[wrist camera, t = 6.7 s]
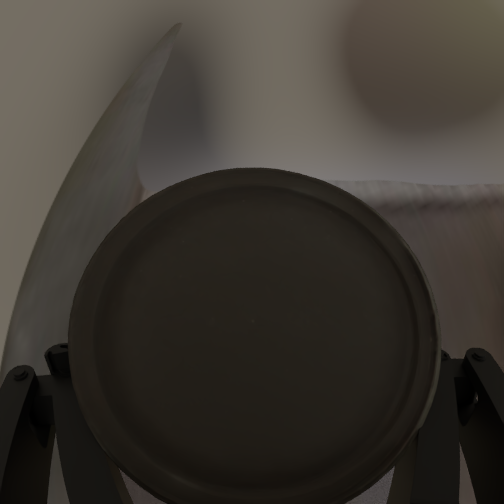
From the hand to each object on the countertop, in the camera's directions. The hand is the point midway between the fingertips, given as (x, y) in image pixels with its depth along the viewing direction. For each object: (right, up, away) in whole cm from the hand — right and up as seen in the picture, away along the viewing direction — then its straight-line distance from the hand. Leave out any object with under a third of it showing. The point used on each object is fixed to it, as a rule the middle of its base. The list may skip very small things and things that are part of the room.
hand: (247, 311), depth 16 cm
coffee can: (0, -6, +4) cm, 7 cm away
